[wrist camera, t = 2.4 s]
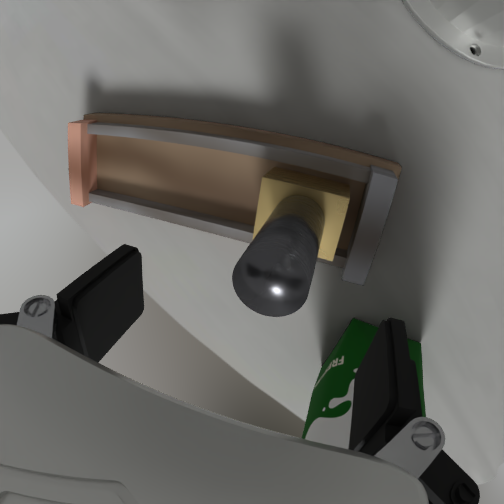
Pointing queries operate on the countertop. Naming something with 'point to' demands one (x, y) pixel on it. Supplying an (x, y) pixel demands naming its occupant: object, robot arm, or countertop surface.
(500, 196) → the countertop surface
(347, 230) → the rail base
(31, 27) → the countertop surface
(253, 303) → the slider
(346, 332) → the milk carton
